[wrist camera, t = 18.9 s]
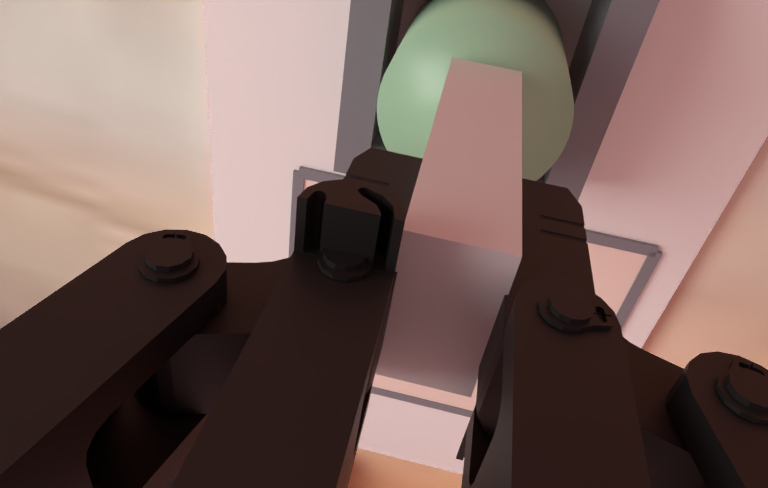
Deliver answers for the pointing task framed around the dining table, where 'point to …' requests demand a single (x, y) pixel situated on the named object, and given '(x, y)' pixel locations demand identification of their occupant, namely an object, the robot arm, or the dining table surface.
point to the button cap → (488, 46)
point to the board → (598, 199)
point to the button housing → (587, 74)
